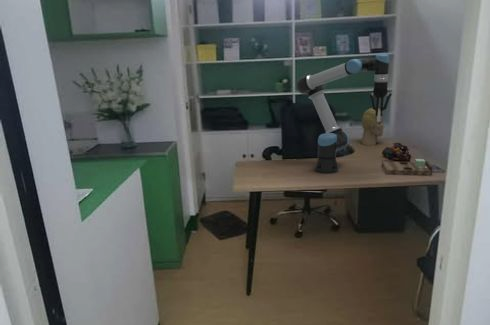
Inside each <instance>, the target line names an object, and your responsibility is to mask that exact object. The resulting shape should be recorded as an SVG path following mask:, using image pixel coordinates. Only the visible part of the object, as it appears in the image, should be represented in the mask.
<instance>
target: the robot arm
mask: <svg viewBox="0 0 490 325" xmlns="http://www.w3.org/2000/svg"><path fill="white" fill-rule="evenodd" d="M389 68H390V55H389V54H376V55H375V58H373V57H372V58H352V59H349V61H347V62H345V63H341V64H339V65H336V66H334V67H330V68H329V69H324V70H323V71H320V72H318V73H315V74H312V75H311V74H308V75H305V76H301V77H300V78H298V79H297V81H296V84H295V88H296V90H297V91H298V93H300V94H302V95H307V97H308V99H309V100H311V101H312V103H313V106H314V109H315V110H316V113H317V115H318V116H319V119H320V122H321V123H322V126H323V127H324V128H323V129H324V131H325V133H321V134H320V135H319V136H318V138H317V159H316V162H315V165H314V170H315V172H318V173H321V174H334V173H337V172H338V171H339V164H338V161H337V152H338V151H342V150H344V149H345V148H346V147H348V145H349V142H350V137H349V134H348V133H346V132H345V131H343V129H342V127H340V126H339V125H338V124H337V122H336V119H335V117H334V115H333V112H332V111H331V108H330V106H329V104H328V101H327V99H326V97H325V94H324V93H325V89H324V88H325V84H327V83H331V82H333V81H336V80H337V81H338V80H340V79H341V78H346V77H348V76H351V75H353V74H358V73H362V72H366V73H367V72H374V80H373V81H374V82H373V90H372V92H370V93H369V94H368V96H369V98H370V102H371V108H373V110H375V111H376V112H375V115H376V116H377V122H380V116H382V111H383V112H384V111H385V110H386V109H387V107H388V104H389V102H390V98H391V97H392V93H390V91H388V81H389ZM374 97H375V101H374ZM385 97H386V99H385ZM384 99H385V101H384ZM379 103H380V105H379ZM378 108H379V109H380V110H378ZM382 117H383V116H382Z"/></svg>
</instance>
